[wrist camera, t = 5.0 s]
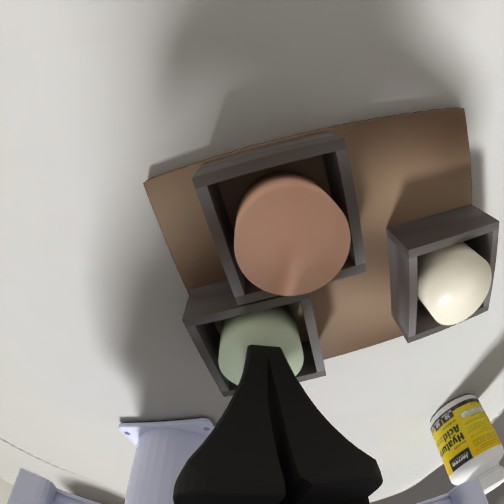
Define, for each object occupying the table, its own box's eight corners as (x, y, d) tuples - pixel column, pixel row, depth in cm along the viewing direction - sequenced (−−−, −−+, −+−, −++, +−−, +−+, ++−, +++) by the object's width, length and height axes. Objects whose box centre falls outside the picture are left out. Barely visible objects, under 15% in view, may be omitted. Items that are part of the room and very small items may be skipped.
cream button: (461, 284, 14) (486, 310, 12) (407, 304, 15) (428, 335, 12) (464, 225, 13) (495, 247, 11) (406, 243, 13) (432, 269, 11)
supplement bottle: (442, 398, 21) (483, 488, 12) (483, 387, 21) (526, 463, 12) (419, 432, 23) (448, 513, 14) (459, 421, 23) (491, 492, 15)
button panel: (459, 306, 16) (483, 335, 14) (230, 373, 18) (229, 412, 15) (456, 107, 11) (496, 112, 9) (147, 180, 13) (122, 199, 10)
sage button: (302, 342, 16) (309, 379, 13) (235, 357, 16) (233, 395, 14) (287, 286, 14) (294, 321, 12) (211, 304, 14) (205, 341, 12)
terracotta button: (337, 247, 12) (356, 279, 10) (251, 269, 13) (252, 307, 10) (319, 160, 11) (339, 174, 9) (224, 185, 11) (217, 207, 9)
